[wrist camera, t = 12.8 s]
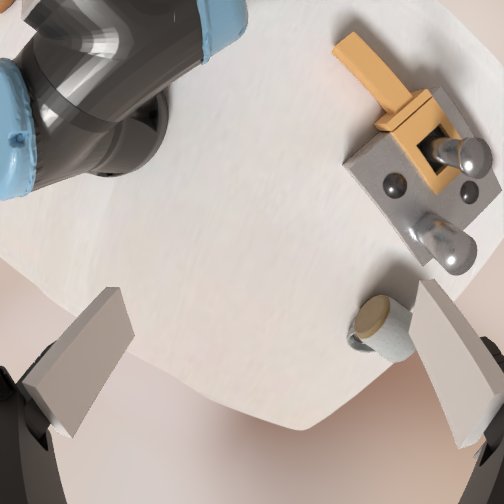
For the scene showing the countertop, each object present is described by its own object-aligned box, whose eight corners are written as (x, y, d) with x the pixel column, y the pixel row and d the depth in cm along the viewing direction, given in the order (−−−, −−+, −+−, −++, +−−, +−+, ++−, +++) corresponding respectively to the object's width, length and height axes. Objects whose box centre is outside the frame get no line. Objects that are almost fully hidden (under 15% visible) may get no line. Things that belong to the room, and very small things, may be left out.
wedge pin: (419, 166, 34) (474, 187, 22) (402, 143, 33) (455, 153, 21) (438, 149, 32) (497, 163, 20) (421, 125, 32) (479, 129, 19)
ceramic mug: (379, 281, 40) (394, 312, 33) (414, 307, 41) (431, 338, 34) (332, 331, 45) (338, 366, 38) (369, 352, 46) (377, 386, 39)
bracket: (317, 64, 30) (322, 55, 26) (356, 33, 28) (366, 21, 23) (420, 186, 35) (437, 195, 30) (453, 154, 32) (473, 159, 28)
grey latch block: (342, 164, 35) (367, 181, 24) (427, 89, 29) (478, 79, 18) (412, 254, 38) (449, 298, 27) (486, 184, 33) (539, 206, 22)
